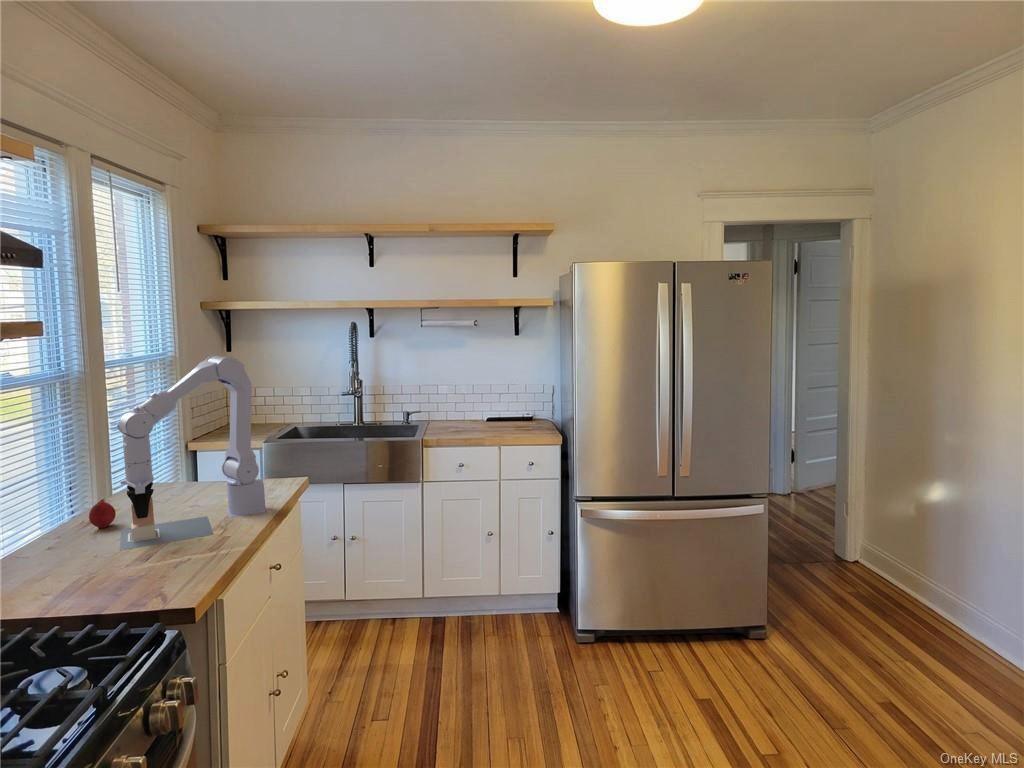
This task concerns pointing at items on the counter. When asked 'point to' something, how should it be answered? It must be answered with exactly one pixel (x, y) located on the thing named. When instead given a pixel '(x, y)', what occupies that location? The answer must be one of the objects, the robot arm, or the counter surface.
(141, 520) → the terracotta block
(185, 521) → the board
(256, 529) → the counter surface
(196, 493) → the counter surface
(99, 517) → the onion
